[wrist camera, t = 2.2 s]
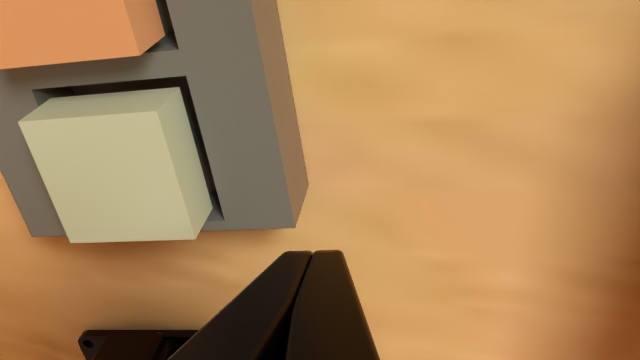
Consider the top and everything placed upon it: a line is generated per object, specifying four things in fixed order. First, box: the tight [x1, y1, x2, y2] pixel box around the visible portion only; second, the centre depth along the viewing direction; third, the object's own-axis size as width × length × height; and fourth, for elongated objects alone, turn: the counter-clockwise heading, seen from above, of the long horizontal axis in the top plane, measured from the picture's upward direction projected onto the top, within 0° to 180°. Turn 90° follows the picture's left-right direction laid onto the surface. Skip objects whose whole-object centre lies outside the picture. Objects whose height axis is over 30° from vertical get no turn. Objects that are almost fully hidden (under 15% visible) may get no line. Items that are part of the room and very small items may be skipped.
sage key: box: [18, 87, 213, 243], centre depth 19 cm, size 4×4×2 cm
